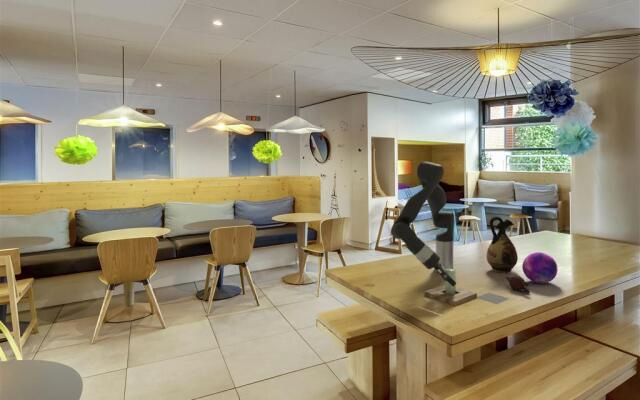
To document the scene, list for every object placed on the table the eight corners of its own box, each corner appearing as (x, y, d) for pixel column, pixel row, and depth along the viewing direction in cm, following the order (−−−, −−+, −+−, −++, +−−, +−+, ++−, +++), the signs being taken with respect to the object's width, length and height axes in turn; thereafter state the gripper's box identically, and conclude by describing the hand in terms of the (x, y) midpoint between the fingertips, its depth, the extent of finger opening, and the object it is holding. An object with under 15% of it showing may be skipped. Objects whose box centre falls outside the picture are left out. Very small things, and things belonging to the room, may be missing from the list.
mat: (475, 298, 169) (475, 297, 169) (488, 293, 174) (488, 292, 174) (497, 304, 161) (497, 303, 161) (509, 299, 166) (509, 298, 166)
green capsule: (443, 295, 172) (443, 269, 171) (449, 293, 174) (449, 268, 173) (451, 298, 168) (451, 272, 167) (457, 296, 171) (457, 270, 169)
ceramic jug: (510, 266, 216) (511, 214, 213) (522, 274, 201) (523, 218, 198) (479, 266, 218) (480, 214, 215) (488, 274, 202) (489, 219, 199)
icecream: (497, 272, 184) (521, 284, 170) (510, 267, 186) (534, 279, 171) (499, 285, 186) (523, 298, 172) (512, 280, 187) (536, 292, 173)
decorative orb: (548, 289, 177) (549, 258, 176) (516, 282, 189) (517, 252, 188) (562, 283, 186) (563, 253, 184) (530, 276, 198) (531, 247, 197)
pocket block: (424, 296, 173) (424, 291, 173) (446, 288, 182) (446, 284, 182) (454, 306, 160) (454, 301, 160) (476, 297, 169) (476, 293, 169)
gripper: (434, 254, 163) (462, 281, 163) (431, 247, 177) (456, 271, 177) (422, 266, 165) (449, 292, 164) (419, 258, 179) (444, 282, 178)
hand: (453, 281), depth 170 cm, fingers open, 8 cm apart
